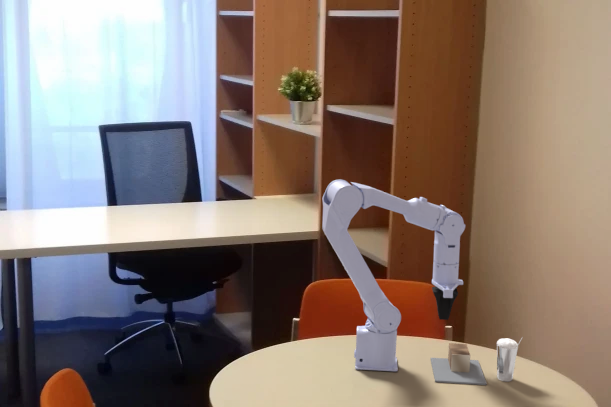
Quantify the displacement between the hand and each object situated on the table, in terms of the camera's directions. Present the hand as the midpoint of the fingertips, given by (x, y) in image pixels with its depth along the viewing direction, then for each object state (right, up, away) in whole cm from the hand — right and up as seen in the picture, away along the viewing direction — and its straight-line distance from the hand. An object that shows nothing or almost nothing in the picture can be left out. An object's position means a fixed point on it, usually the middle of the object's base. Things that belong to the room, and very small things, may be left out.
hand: (443, 318), depth 169 cm
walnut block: (+3, -9, -5) cm, 11 cm away
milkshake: (+13, -12, -7) cm, 19 cm away
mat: (+2, -11, -4) cm, 12 cm away
